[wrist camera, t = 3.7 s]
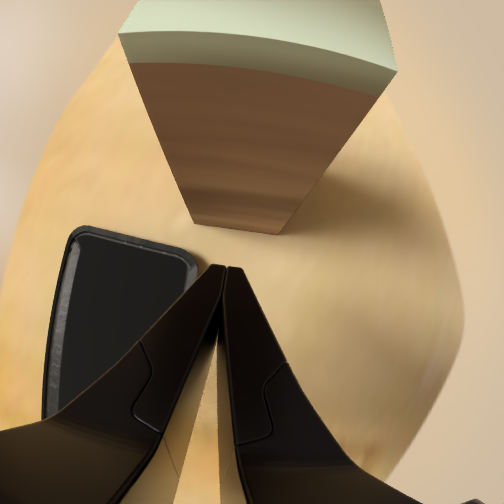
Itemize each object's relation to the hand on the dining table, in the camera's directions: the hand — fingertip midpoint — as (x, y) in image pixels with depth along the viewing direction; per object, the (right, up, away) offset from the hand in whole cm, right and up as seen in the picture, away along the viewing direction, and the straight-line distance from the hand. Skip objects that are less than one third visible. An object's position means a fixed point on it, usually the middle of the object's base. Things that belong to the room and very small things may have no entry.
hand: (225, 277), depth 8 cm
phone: (-7, -6, +7) cm, 12 cm away
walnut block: (0, +4, +8) cm, 9 cm away
